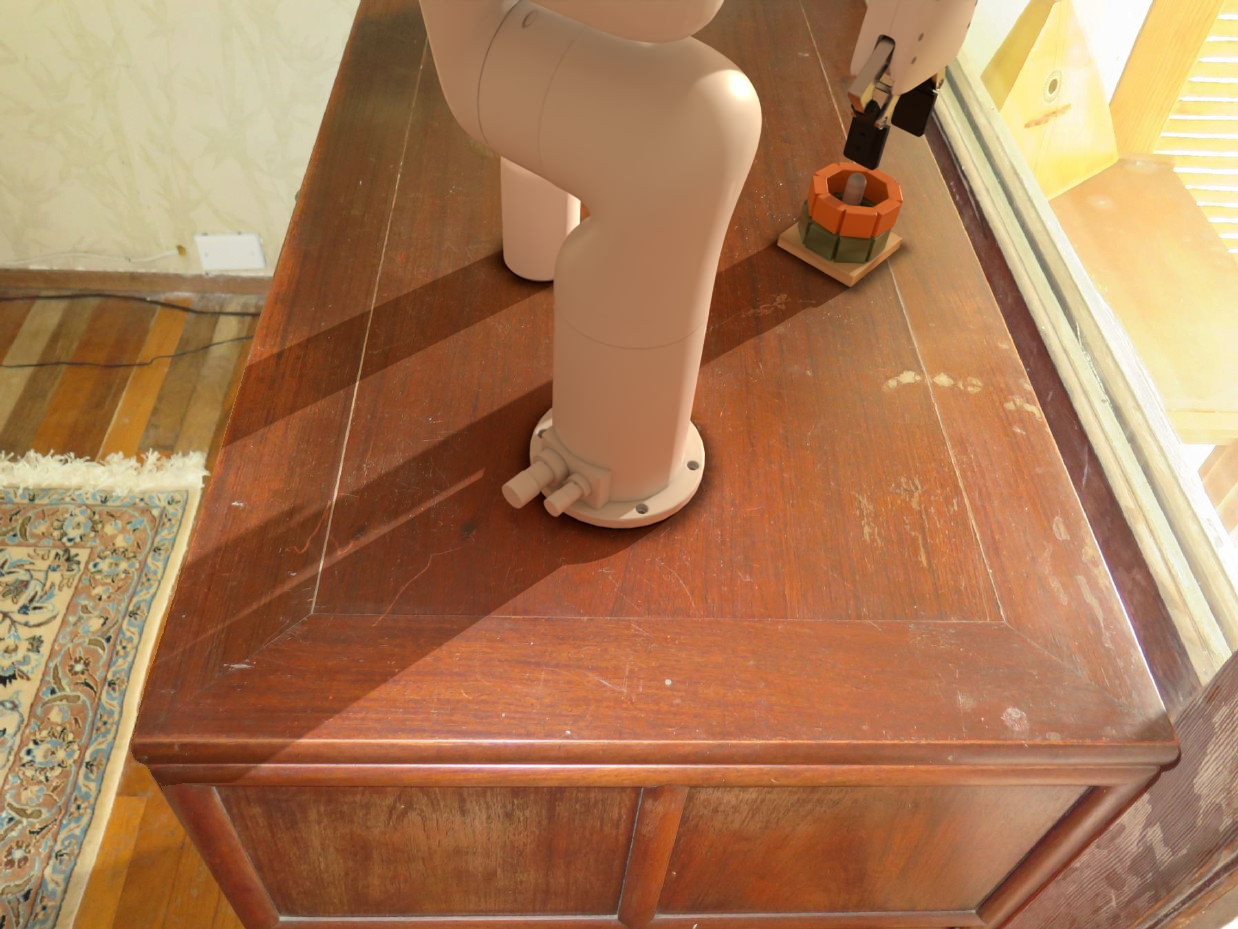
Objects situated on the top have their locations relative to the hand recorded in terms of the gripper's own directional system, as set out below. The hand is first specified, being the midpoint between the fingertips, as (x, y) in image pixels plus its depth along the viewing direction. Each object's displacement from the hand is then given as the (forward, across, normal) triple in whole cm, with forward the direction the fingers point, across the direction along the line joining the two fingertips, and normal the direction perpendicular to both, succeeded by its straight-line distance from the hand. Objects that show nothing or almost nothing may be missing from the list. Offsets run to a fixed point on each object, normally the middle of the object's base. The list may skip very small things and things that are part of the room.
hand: (884, 144), depth 84 cm
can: (+9, +24, -17) cm, 31 cm away
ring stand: (+9, +3, 0) cm, 10 cm away
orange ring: (+6, +3, 0) cm, 6 cm away
